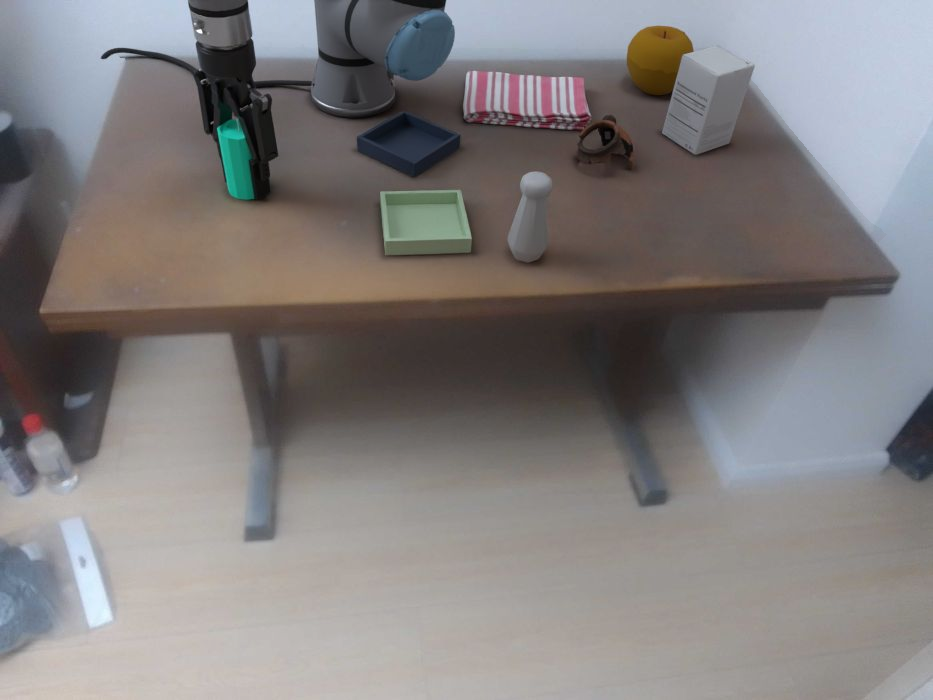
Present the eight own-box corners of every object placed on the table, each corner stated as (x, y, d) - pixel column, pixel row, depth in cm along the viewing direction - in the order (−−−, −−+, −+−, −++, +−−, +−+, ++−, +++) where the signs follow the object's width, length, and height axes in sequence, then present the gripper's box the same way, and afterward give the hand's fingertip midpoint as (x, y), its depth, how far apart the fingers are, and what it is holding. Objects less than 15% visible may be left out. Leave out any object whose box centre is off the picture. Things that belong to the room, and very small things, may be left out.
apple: (610, 90, 151) (622, 32, 143) (635, 67, 159) (648, 11, 151) (671, 110, 146) (687, 51, 138) (694, 85, 154) (710, 29, 146)
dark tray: (357, 150, 129) (356, 136, 127) (404, 123, 136) (404, 110, 134) (414, 177, 124) (414, 163, 122) (459, 148, 131) (460, 134, 130)
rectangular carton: (695, 122, 144) (718, 43, 133) (730, 144, 138) (757, 64, 128) (659, 133, 140) (681, 52, 129) (694, 156, 135) (719, 74, 124)
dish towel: (590, 132, 138) (593, 114, 136) (462, 123, 137) (463, 105, 135) (581, 88, 150) (584, 71, 148) (463, 80, 150) (464, 62, 147)
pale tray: (385, 255, 109) (385, 241, 107) (380, 205, 118) (380, 191, 116) (470, 252, 111) (472, 238, 109) (459, 203, 120) (460, 189, 118)
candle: (275, 183, 120) (265, 113, 112) (255, 203, 116) (244, 131, 108) (241, 174, 121) (229, 104, 113) (220, 194, 117) (206, 122, 109)
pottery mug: (638, 181, 128) (626, 147, 122) (584, 194, 132) (569, 162, 126) (636, 130, 134) (625, 95, 128) (585, 144, 138) (570, 110, 132)
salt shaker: (504, 241, 114) (513, 164, 104) (542, 241, 114) (554, 165, 105) (508, 266, 109) (519, 188, 100) (548, 266, 110) (562, 189, 101)
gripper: (155, 26, 104) (187, 174, 120) (252, 70, 96) (272, 221, 113) (199, 11, 108) (225, 155, 124) (295, 52, 101) (309, 199, 117)
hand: (247, 186), depth 119 cm, fingers closed on candle, 6 cm apart
